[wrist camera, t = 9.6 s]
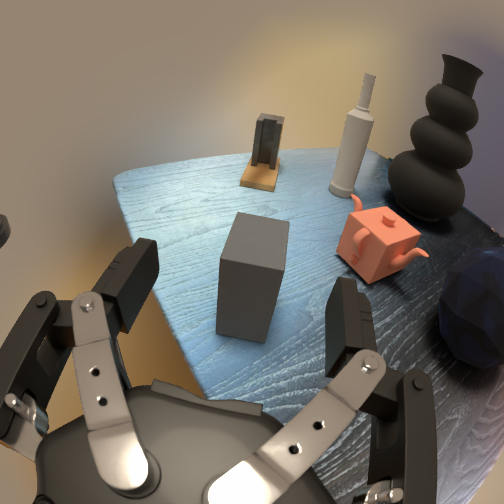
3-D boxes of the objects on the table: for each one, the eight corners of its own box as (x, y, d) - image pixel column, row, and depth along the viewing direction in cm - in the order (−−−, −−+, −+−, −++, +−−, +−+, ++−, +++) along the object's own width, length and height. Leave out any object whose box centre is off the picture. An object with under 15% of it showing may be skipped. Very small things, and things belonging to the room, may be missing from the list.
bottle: (323, 189, 58) (351, 69, 42) (336, 184, 61) (363, 72, 45) (344, 200, 55) (377, 76, 40) (356, 195, 58) (388, 80, 43)
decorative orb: (407, 261, 33) (500, 226, 19) (473, 260, 36) (549, 235, 22) (413, 374, 30) (509, 386, 16) (479, 352, 33) (557, 349, 18)
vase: (387, 182, 68) (423, 53, 46) (450, 213, 61) (494, 85, 39) (371, 206, 55) (417, 38, 33) (450, 246, 48) (512, 81, 26)
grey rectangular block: (215, 333, 29) (219, 257, 23) (233, 274, 36) (241, 201, 30) (264, 343, 29) (284, 270, 22) (274, 282, 36) (290, 211, 29)
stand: (239, 185, 54) (246, 128, 47) (252, 158, 66) (258, 112, 59) (273, 191, 54) (283, 134, 47) (279, 163, 66) (287, 117, 59)
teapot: (377, 313, 33) (407, 261, 28) (309, 241, 43) (323, 190, 38) (425, 285, 39) (450, 240, 33) (362, 227, 48) (377, 185, 43)
